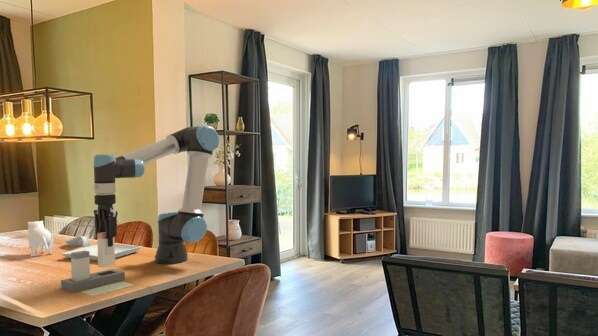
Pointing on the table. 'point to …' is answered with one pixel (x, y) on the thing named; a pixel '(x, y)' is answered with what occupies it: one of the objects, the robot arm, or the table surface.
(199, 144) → the robot arm
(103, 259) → the cream plug
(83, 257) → the grey plug
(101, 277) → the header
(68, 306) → the table surface
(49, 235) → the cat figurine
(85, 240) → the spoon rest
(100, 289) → the green mat
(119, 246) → the square plate
